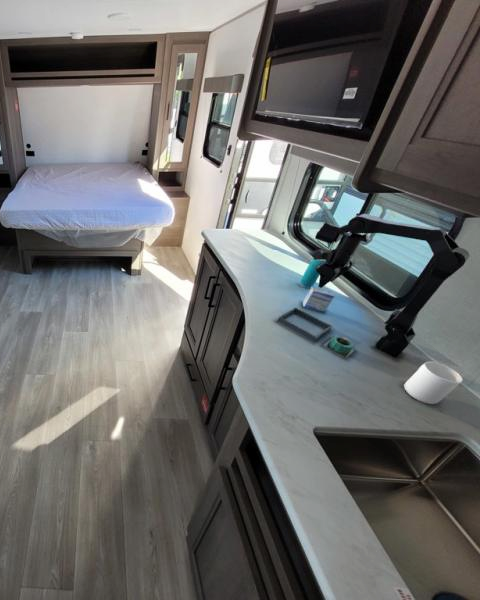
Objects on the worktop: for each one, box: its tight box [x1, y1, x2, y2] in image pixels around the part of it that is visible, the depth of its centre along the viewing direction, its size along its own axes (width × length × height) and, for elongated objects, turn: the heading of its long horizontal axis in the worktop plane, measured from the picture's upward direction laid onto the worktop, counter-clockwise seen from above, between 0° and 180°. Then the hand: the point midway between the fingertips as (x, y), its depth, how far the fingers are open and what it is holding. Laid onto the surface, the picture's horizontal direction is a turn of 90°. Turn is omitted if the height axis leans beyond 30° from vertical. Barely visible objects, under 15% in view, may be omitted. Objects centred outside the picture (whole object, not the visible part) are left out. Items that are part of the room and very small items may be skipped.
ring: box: [329, 335, 355, 354], centre depth 111 cm, size 6×6×3 cm
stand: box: [323, 336, 356, 359], centre depth 111 cm, size 8×8×5 cm
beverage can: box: [299, 258, 327, 289], centre depth 145 cm, size 6×6×15 cm
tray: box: [276, 307, 333, 343], centre depth 122 cm, size 14×13×2 cm
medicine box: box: [302, 286, 335, 313], centre depth 131 cm, size 8×4×9 cm, turn 62°
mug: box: [403, 361, 464, 405], centre depth 95 cm, size 12×8×10 cm
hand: (325, 284), depth 122 cm, fingers open, 9 cm apart
